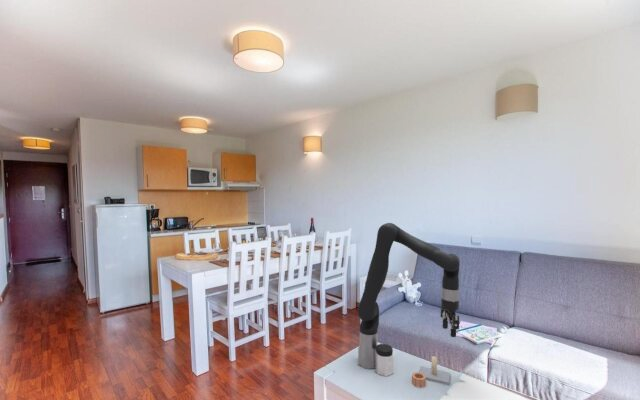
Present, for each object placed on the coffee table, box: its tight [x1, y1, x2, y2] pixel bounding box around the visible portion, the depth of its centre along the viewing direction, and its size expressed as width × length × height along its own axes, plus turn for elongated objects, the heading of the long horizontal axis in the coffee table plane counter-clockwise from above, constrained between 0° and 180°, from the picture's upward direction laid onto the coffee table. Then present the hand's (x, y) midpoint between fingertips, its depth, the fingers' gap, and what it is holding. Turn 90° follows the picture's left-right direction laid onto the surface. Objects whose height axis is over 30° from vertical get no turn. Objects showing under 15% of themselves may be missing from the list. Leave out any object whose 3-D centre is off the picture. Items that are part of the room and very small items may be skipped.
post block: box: [418, 355, 451, 386], centre depth 152 cm, size 14×9×9 cm, turn 65°
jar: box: [375, 343, 394, 377], centre depth 156 cm, size 9×8×12 cm
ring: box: [411, 371, 427, 388], centre depth 146 cm, size 6×6×4 cm
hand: (449, 332), depth 145 cm, fingers open, 8 cm apart
